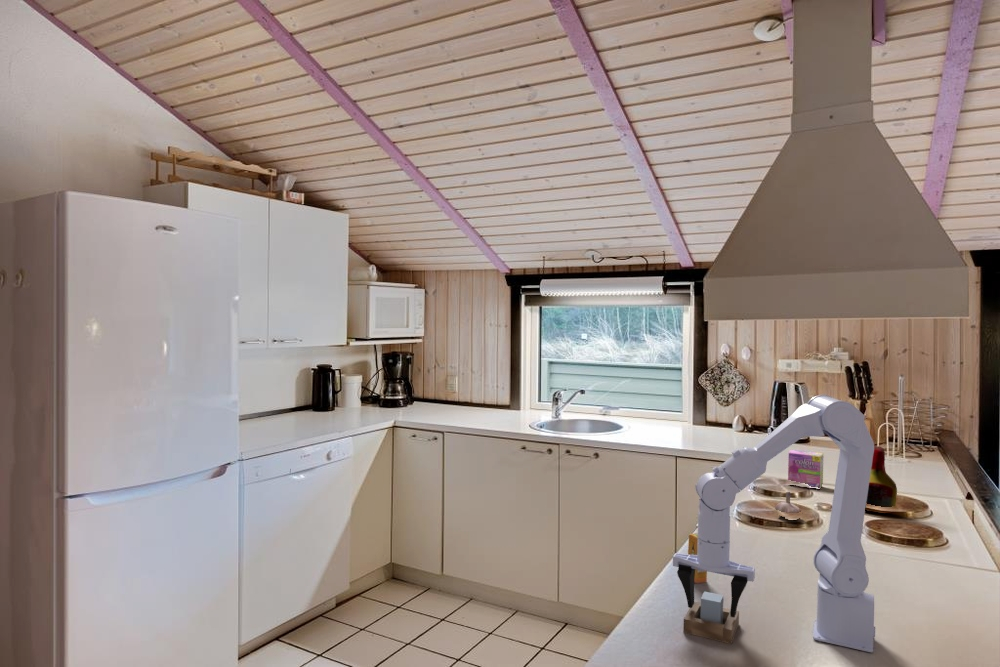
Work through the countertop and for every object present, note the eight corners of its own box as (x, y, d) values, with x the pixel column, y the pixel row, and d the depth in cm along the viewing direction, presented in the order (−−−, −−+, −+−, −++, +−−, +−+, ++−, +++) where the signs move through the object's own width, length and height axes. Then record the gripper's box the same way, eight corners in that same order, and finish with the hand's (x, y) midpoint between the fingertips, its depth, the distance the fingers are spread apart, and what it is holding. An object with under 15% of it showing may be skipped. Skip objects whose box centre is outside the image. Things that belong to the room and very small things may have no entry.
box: (787, 485, 227) (788, 452, 227) (790, 482, 232) (791, 449, 231) (820, 490, 221) (821, 456, 221) (822, 487, 226) (823, 453, 225)
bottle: (897, 513, 196) (899, 447, 196) (894, 518, 191) (896, 450, 191) (853, 505, 204) (855, 442, 203) (848, 510, 199) (850, 445, 198)
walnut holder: (738, 624, 124) (739, 611, 124) (731, 643, 116) (731, 630, 116) (693, 613, 128) (693, 601, 128) (683, 632, 120) (683, 618, 120)
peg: (722, 626, 123) (723, 595, 123) (719, 634, 120) (720, 602, 120) (703, 622, 124) (704, 591, 124) (700, 630, 121) (700, 598, 121)
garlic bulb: (775, 513, 194) (776, 487, 194) (802, 517, 191) (803, 490, 191) (774, 520, 188) (774, 493, 187) (802, 524, 184) (802, 496, 184)
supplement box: (708, 581, 143) (709, 536, 143) (696, 584, 142) (697, 538, 142) (698, 576, 146) (699, 532, 146) (685, 578, 145) (687, 534, 145)
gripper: (757, 539, 122) (755, 610, 122) (679, 526, 128) (677, 593, 129) (752, 550, 115) (750, 626, 116) (670, 536, 122) (669, 607, 123)
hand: (711, 610), depth 122 cm, fingers open, 7 cm apart
